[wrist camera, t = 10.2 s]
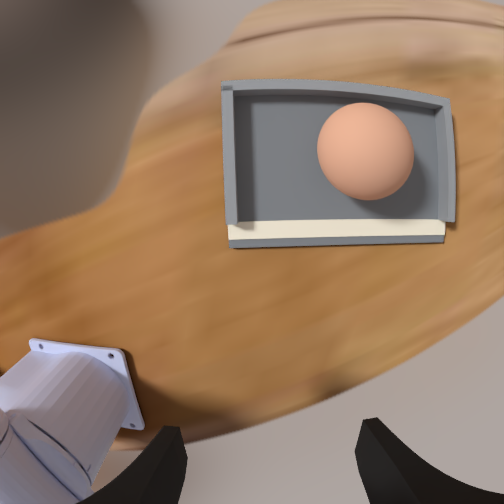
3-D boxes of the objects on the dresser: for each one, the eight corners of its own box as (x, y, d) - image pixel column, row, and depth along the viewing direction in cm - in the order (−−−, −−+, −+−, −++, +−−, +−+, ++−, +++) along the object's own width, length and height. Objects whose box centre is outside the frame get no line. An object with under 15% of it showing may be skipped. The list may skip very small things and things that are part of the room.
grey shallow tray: (229, 246, 18) (227, 252, 17) (224, 89, 16) (221, 81, 15) (440, 241, 18) (453, 245, 16) (436, 103, 16) (449, 98, 14)
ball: (307, 199, 17) (338, 201, 12) (304, 112, 16) (332, 84, 11) (386, 199, 17) (434, 203, 12) (382, 119, 16) (428, 100, 11)
